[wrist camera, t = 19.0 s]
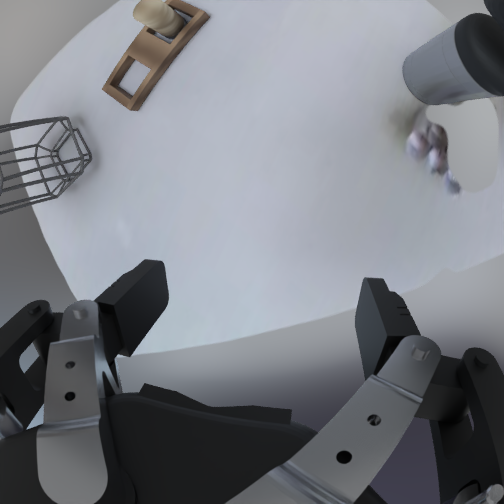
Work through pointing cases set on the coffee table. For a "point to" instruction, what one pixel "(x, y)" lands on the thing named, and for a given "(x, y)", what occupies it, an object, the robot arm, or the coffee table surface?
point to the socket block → (152, 56)
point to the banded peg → (159, 17)
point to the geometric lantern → (77, 174)
